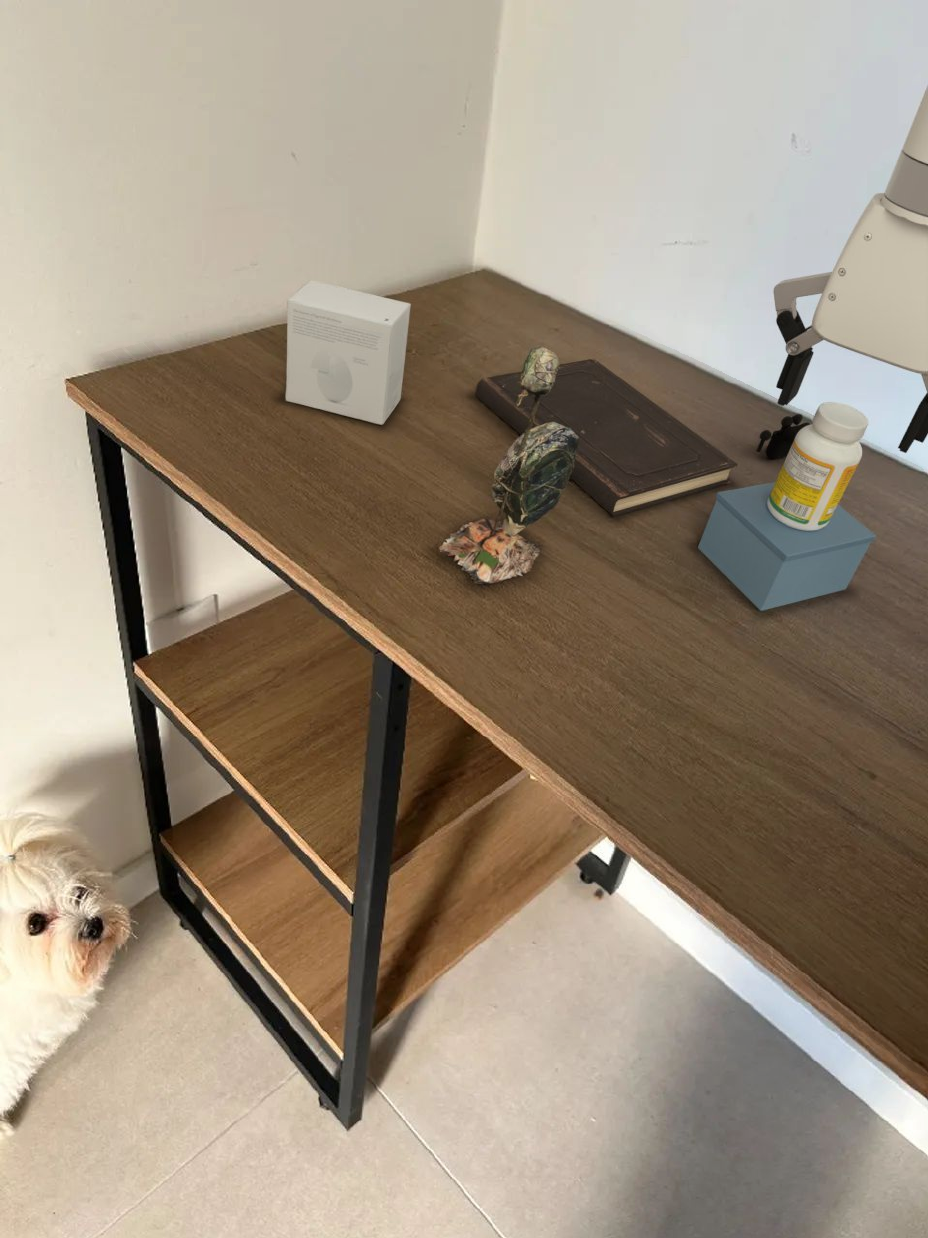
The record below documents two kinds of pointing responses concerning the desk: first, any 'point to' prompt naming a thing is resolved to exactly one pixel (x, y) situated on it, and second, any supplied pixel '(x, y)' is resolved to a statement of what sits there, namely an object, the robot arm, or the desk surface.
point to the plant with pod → (520, 487)
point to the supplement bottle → (818, 467)
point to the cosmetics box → (345, 351)
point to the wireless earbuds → (781, 437)
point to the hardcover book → (614, 437)
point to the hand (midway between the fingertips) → (844, 422)
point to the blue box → (780, 549)
